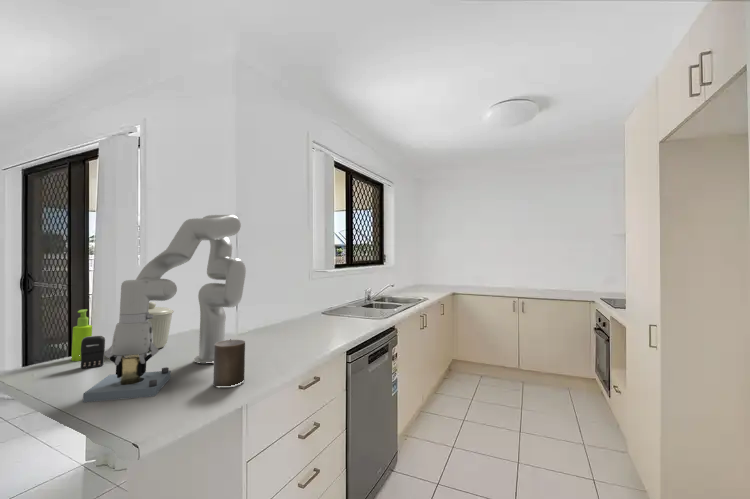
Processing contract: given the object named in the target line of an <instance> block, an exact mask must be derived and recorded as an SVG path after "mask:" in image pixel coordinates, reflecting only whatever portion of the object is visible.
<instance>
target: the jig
mask: <svg viewBox="0 0 750 499" xmlns="http://www.w3.org/2000/svg"><path fill="white" fill-rule="evenodd" d="M169 369H170V368H169V367H167V366H166V367H162V368H161V370H160V371H159V370H158V371H146V372H145V373H144V374H143V375H142V376H141V377H140V382H138V383H135V384H130V385H121V377H120V378H117V375H116V373H114V374H109V375H107V376H106V377H104V378H103V379H101V380H100V381H98V383H96V384H94V385H93V386H92V387H90V388H88V389H87V390H86V391H85V392H83V395H82V403H89V402H90V403H91V402H102V401H111V400H112V401H114V400H115V401H116V400H126V399H137V398H149V397H150V398H151V397H155V396H156V395H157V394H158V393H159V392H160V391H161V390H162V388H163V387H164V386H165V385H166V384H167V383H168V382H169V381H170V379H171V372H172V371H171V370H169Z"/></svg>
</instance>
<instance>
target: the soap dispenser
mask: <svg viewBox="0 0 750 499" xmlns="http://www.w3.org/2000/svg"><path fill="white" fill-rule="evenodd" d="M87 311H88V309H87V308H85V309H84V308H83V309H79V310H78V311H77V314H80V316H79V317H78V318H77V325H75V326H73V327H72V336H71V337H72V341H71V342H72V343H71V356H70V357H72V358H71V361H72V362H81V342H82V340H83V338H85V337H89V336H93V325H91V324H89V321H90V320H89V317H88V316H87ZM79 355H80V356H79Z"/></svg>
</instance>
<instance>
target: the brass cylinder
mask: <svg viewBox="0 0 750 499" xmlns="http://www.w3.org/2000/svg"><path fill="white" fill-rule="evenodd" d="M139 364H140V358H139V355H125V356H124V357H123V358H122V368H121V385H130V384H135V383H138V382H140V377H139V376H138V367H139Z"/></svg>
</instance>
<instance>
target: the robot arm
mask: <svg viewBox="0 0 750 499" xmlns="http://www.w3.org/2000/svg"><path fill="white" fill-rule="evenodd" d="M241 224H242V223H241V220H240V218H238V216H236V215H234V214H209V215H205V216H203V217H202V218H201V217H200V218H199V217H198V218H197V217H196V218H195V217H194V218H188V219H186V220H184V221H183V222H182V224H181V226H180V227H179V229H178V230H177V232H176V233H175V235H174V236H173V239H172V240H171V242H170V243H169V244H168V246H167V247H166V249H165V250H163V251H162V252H161V253H159V254H158V255H156V256H155V257H154V258H152V259H151V260H150V261H149V262H148V263H147V264H146V265H145V266H144V267H143V268H142V270H141V271H140V272H139V274H138V276H137V277H136V279H128V280H127V279H126V280H123V281H122V283H121V285H120V302H119V316H118V317H119V320H118V322H117V324H116V325H115V329H114V332H113V337H112V342H111V346H110V347H109V348H108V349H106V351H105V352H104V357H106V358H107V359H109V360H110V361H111V362H112V363H113V364H114V365H115V374H116V375H117V378H120V377H121V368H122V358H123V357H125V356H130V355H139V358H140V364H139V367H138V376H139V377H141V376H142V375H143V374H144V373H145V372H147V362H148V361H149V360H150V359H151V358H153V357H154V356H155V355H157V353H159V352H160V350H159V349H157V347H156V346H155V345H154V344H153V332H152V324H151V322H150V321H148V320H149V319H153V315H151V314H149V312H148V311H149V302H155V301H157V302H159V301H160V302H162V301H163V302H164V301H168V300H171V299H172V298H174V296H176V293H177V291H178V288H177V287H178V286H177V285H176V283H175V282H174V281H172V279H168V278H162V277H163V276H164V275H165V274H166V273H167V272H169V271H170V270H172V269H174V268H177V267H180V266H181V265H185V264H186V263H188V262H190V260H192V257H193V256H194V255H195V252H196V250H197V249H198V247H199V245H200V244H201V242H202V241H208V242H209V245H210V249H209V256H208V261H207V268H206V274H207V277H208V278H210V279H212V280H216V281H225V283H223V282H221V283H219V282H218V283H217V282H209V283H206V284H204V285H203V286H201V288H200V289H199V291H198V295H197V297H198V299H197V300H198V303H199V311H200V312H199V313H200V316H199V317H200V319H199V341H198V355H197V356H195V357H194V360H193V362H194V361H196V362H200V363H206V362H212V361H214V351H215V343H217V342H221V341H225V340H226V320H227V319H226V311H225V309H224V308H234V307H237V306H238V305H239V304H240V303H241V300H242V298H243V292H244V287H245V286H244V285H245V279H246V274H247V273H246V272H247V270H246V265H245V263H244V261H243V260H242V259H240V258H238V257H232V254H233V244H232V241H231V240H230V237H233V236H235V235H237V234H238V233H240V232H239V231H240V230H241V227H242V225H241ZM150 351H151V352H150ZM149 352H150V353H149ZM148 353H149V354H148Z"/></svg>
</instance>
